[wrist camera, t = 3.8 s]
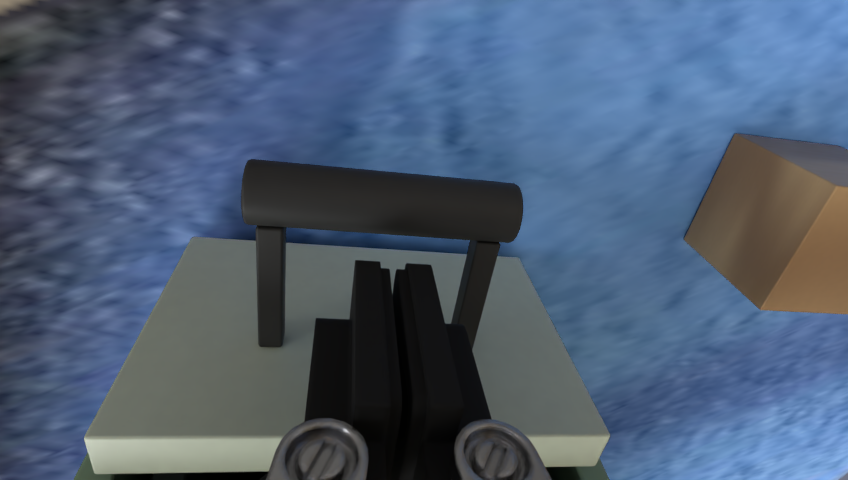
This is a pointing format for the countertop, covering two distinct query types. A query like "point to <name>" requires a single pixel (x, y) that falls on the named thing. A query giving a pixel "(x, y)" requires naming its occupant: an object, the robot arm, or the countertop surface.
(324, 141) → the countertop surface
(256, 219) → the pull-out drawer
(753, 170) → the block
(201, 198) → the countertop surface
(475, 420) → the robot arm
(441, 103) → the countertop surface
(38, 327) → the countertop surface
